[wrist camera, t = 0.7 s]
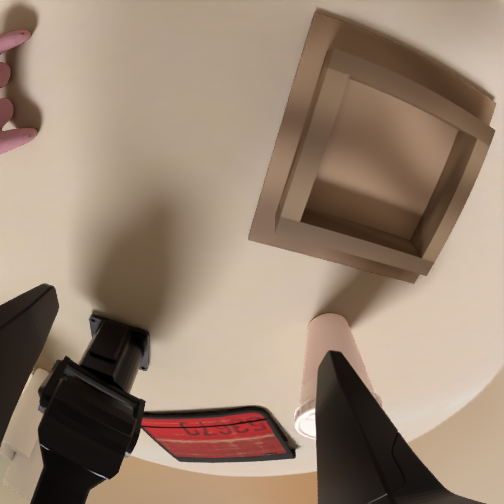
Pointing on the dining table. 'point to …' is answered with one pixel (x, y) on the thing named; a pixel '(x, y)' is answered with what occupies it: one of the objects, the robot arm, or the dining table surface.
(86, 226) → the dining table surface
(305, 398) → the smoothie
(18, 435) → the vase
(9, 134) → the video game controller
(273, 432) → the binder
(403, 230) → the brown shallow square tray
